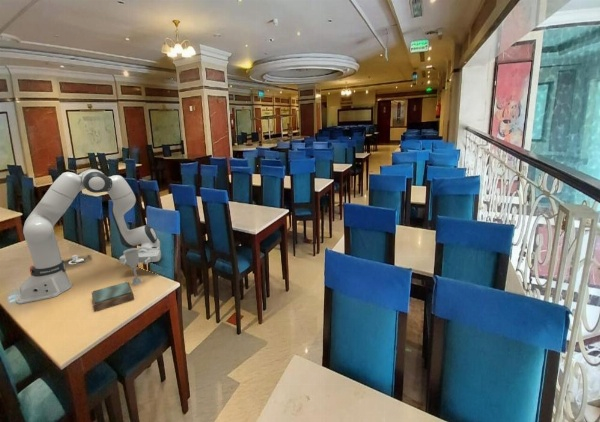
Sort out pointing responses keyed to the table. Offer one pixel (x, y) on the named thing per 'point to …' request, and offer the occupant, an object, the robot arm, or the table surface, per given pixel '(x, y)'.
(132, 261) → the chalice
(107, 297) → the plinth
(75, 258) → the teacup and saucer
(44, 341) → the table surface
